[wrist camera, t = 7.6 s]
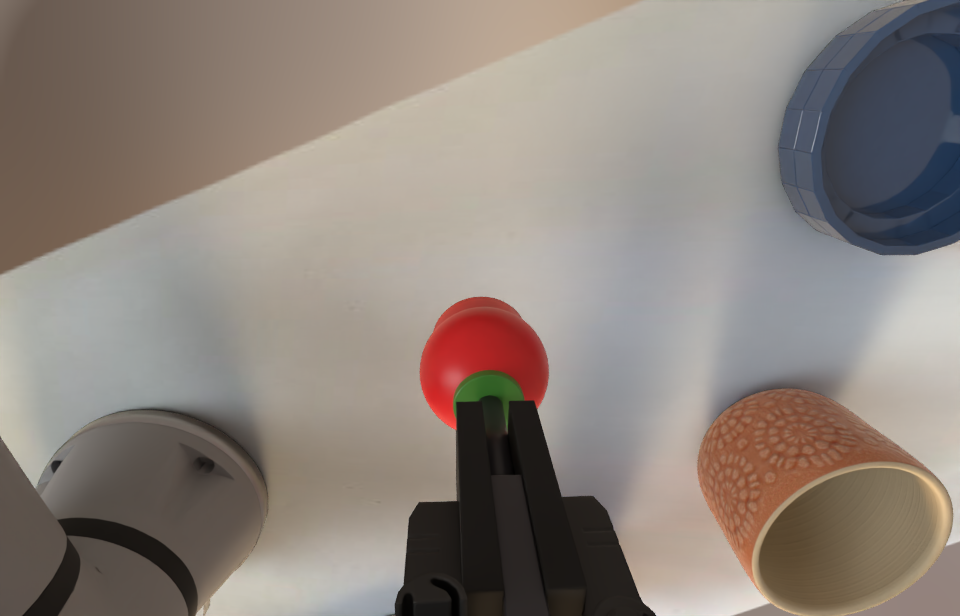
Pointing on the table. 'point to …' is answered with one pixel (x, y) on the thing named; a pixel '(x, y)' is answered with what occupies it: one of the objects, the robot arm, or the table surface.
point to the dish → (880, 132)
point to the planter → (820, 503)
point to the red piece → (493, 420)
